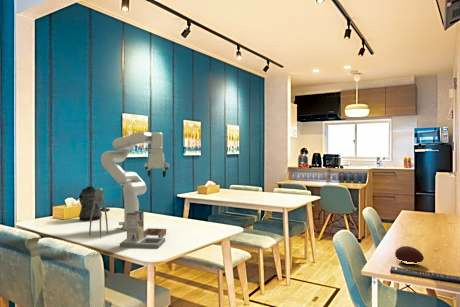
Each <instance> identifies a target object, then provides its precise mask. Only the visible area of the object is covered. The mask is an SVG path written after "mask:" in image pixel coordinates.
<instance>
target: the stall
mask: <svg viewBox="0 0 460 307" xmlns="http://www.w3.org/2000/svg"><path fill="white" fill-rule="evenodd" d="M149 235H158V237H157V238H165V236H166V235H167V228H157V227H156V228H149V227H148V228H146V229H145V230H144V237H147V236H149Z"/></svg>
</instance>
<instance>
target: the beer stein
mask: <svg viewBox="0 0 460 307" xmlns="http://www.w3.org/2000/svg"><path fill="white" fill-rule="evenodd" d="M95 191H96V189H95V187H94V186H86V188H82V190H81V192H80V194H79V195H78V199H79V203H80V205H81V206H80V212H79V215H78V218H79V221H80V222H90V218H91V212H92V207H93V203H94V200H96V197H95ZM102 215H103V213H102V212H101V217H102ZM94 221H100V209H99V207H98V204H97V203H95V207H94V211H93V216H92V222H94Z"/></svg>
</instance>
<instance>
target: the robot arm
mask: <svg viewBox="0 0 460 307" xmlns="http://www.w3.org/2000/svg"><path fill="white" fill-rule="evenodd" d="M163 139H164V135H163V133H162V132H160V131H159V132H158V131H157V132H156V131H155V132H150V131H138V132H133V133H131V134H129V135H126V136H121V137H117V138H114V140H113V141H112V147H113V148H114V149H115V150H106V151H104V152H103V153H102V154H101V157H100V161H101V165H102V167H103V168H104V169H105V170H106V171H107V173H109V174H110V176H111V177H112V178H113V179H114V181H116V183H117V184H118V185H119V186H123V187H122V193H123V200H124V204H123V205H124V206H123V207H124V212H123V213H124V216H123V217H124V221H119V222H118V225H119V226H121V229H122V230H124V231H127V213H130V212H132V211H140V209H139V208H140V204H139V203H140V202H139V198H138V196H140V195H143V194H145V193H146V192H147V189H148V188H147V185H146V183H145V181H143V178H141V177H140V176H139V175H138V174H137V173H136V172H134V171H131V170H130V171H129V170H128V171H125V170H124V169H123V168H122V167H121V166H120V165H119V164H118V163H122V162H124V161H125V160H126V159H127V157H128V155H129V153H130V152H131V150H132V149H133V148H135V147H136V145H138V144H139V145H140V144H149V145H150V149H148V152H150V153H149V155H148V162H145V163H144V164H143V167H144V168H145V170H146V171H147V176H148V178H150V177H151V178H152V171H151V170H152V169H162V178H165V177H166V176H167V174H166V173H167V170H168V169H169V168H170V165H171V164H170V163H168V162H166V161H165V160H166V159H165V153H164V152H163V150H164V149H163V148H164V140H163Z"/></svg>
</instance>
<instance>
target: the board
mask: <svg viewBox="0 0 460 307" xmlns="http://www.w3.org/2000/svg"><path fill="white" fill-rule="evenodd" d="M165 242H166V237H163V238H158V237H147V236H146V237H144V238H143V239H141V240H139V241H138V242H127V238H126V239H124V240H122V241H121V242H119V248H140V249H141V248H142V249H143V248H144V249H145V248H146V249H159V248H160V247H161V246H162V245H163V244H164V243H165Z"/></svg>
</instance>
